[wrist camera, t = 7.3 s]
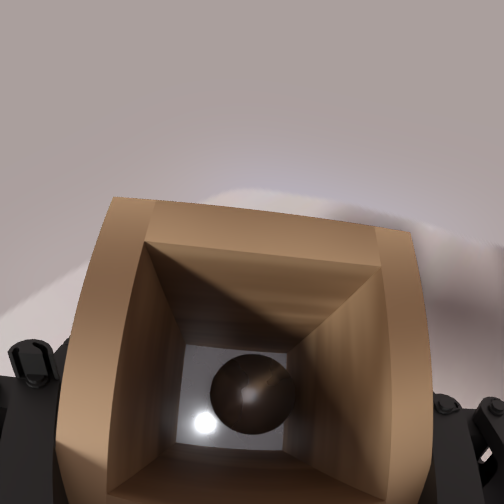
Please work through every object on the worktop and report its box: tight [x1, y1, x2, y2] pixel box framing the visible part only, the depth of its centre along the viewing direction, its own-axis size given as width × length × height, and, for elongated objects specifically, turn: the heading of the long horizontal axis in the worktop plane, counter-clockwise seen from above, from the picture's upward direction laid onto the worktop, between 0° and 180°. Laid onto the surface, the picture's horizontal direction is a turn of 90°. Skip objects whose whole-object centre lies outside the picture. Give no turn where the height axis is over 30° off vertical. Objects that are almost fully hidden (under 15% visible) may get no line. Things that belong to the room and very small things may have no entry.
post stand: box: [176, 344, 295, 450], centre depth 14 cm, size 12×12×9 cm
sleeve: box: [55, 197, 433, 504], centre depth 9 cm, size 7×7×10 cm
